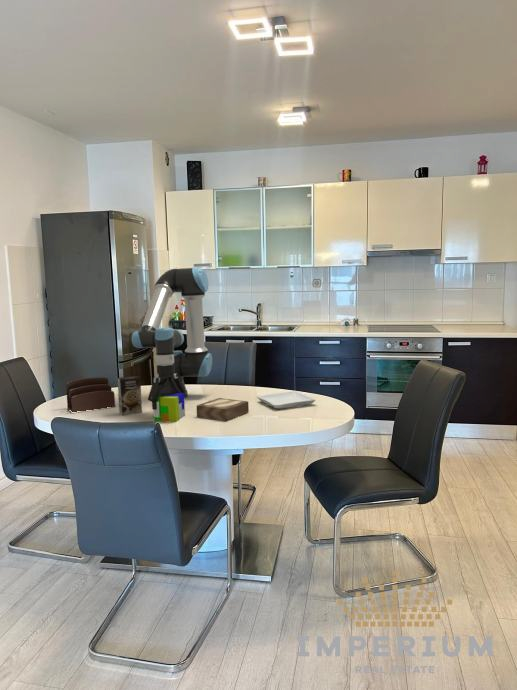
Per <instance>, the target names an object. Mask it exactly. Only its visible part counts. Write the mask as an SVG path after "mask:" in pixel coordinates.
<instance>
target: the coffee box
mask: <svg viewBox="0 0 517 690" xmlns="http://www.w3.org/2000/svg"><path fill="white" fill-rule="evenodd" d="M141 383H142V382H141V377H140V376H137V375H133V376H123V377H117V389H118V390H117V392H118V393H117V395H118V412H119V414H120V415H122V416H128V415H134V414H135V413H136V414H141V413H143V404H142V385H141ZM136 414H135V415H136Z"/></svg>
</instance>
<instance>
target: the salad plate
mask: <svg viewBox="0 0 517 690" xmlns="http://www.w3.org/2000/svg"><path fill="white" fill-rule="evenodd" d="M256 398H257V399H258V400H259V401H260V402H261V403H264V404H266V405H268V406H270V407H272V408H274V409H277V410H278V409H279V410H281V409H282V410H283V408H284V409H290V408H296V407H297V406H298V407H304V406H308V405H311V404H313V403H314V402H316V399H315V398H314V397H311V396H308V395H307V394H303V393H301V392H298V391H296V390H293V391H284V392H276V393H271V394H264V395H256ZM298 407H297V408H298Z"/></svg>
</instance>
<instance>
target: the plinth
mask: <svg viewBox="0 0 517 690" xmlns="http://www.w3.org/2000/svg"><path fill="white" fill-rule="evenodd" d="M248 412H249V413H250V410H249V401H246V400H240V399H232V398H222V397H217V398H214V399H211V400H208V401H206V402H202V403H200V404H197V405H196V418H203V419H210V420H216V421H222V422H223V421H225V422H228V420H229V421H231V420H233V418H234V419H236V418H239V417H241V416H244V415H246V413H247V414H249V413H248ZM243 414H244V415H243ZM238 416H239V417H238Z"/></svg>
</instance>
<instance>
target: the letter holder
mask: <svg viewBox="0 0 517 690" xmlns="http://www.w3.org/2000/svg"><path fill="white" fill-rule="evenodd" d="M65 390H66V391H65V392H66V404H67V405H66V407H67V410H68V409H69V410H71V411H72V412H77V411H85V412H87V411H86V410H92V411H95V410H94V409H98V410H102V409H101V408H105V409H108V408H107V407H111V408H116V398H115V392H114V391H113V390H112V385H111V384H110V383H109V378H108V377H103V376H100V377H99V376H96V377H95V376H94V377H85V378H79V379H73V380H71V381H67V382H66V384H65ZM69 410H68V411H69Z"/></svg>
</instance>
